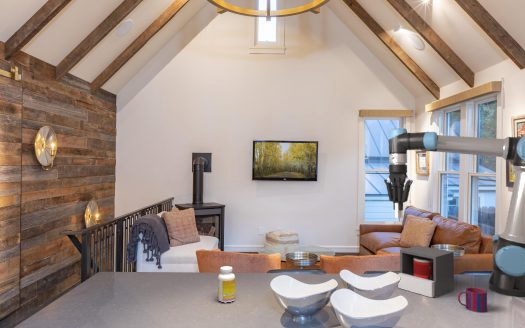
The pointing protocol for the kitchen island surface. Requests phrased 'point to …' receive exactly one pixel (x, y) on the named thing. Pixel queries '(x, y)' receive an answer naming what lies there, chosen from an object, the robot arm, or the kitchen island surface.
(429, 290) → the tray
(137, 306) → the kitchen island surface
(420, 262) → the canned food
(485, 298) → the mug
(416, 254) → the housing
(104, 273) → the kitchen island surface
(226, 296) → the supplement bottle
